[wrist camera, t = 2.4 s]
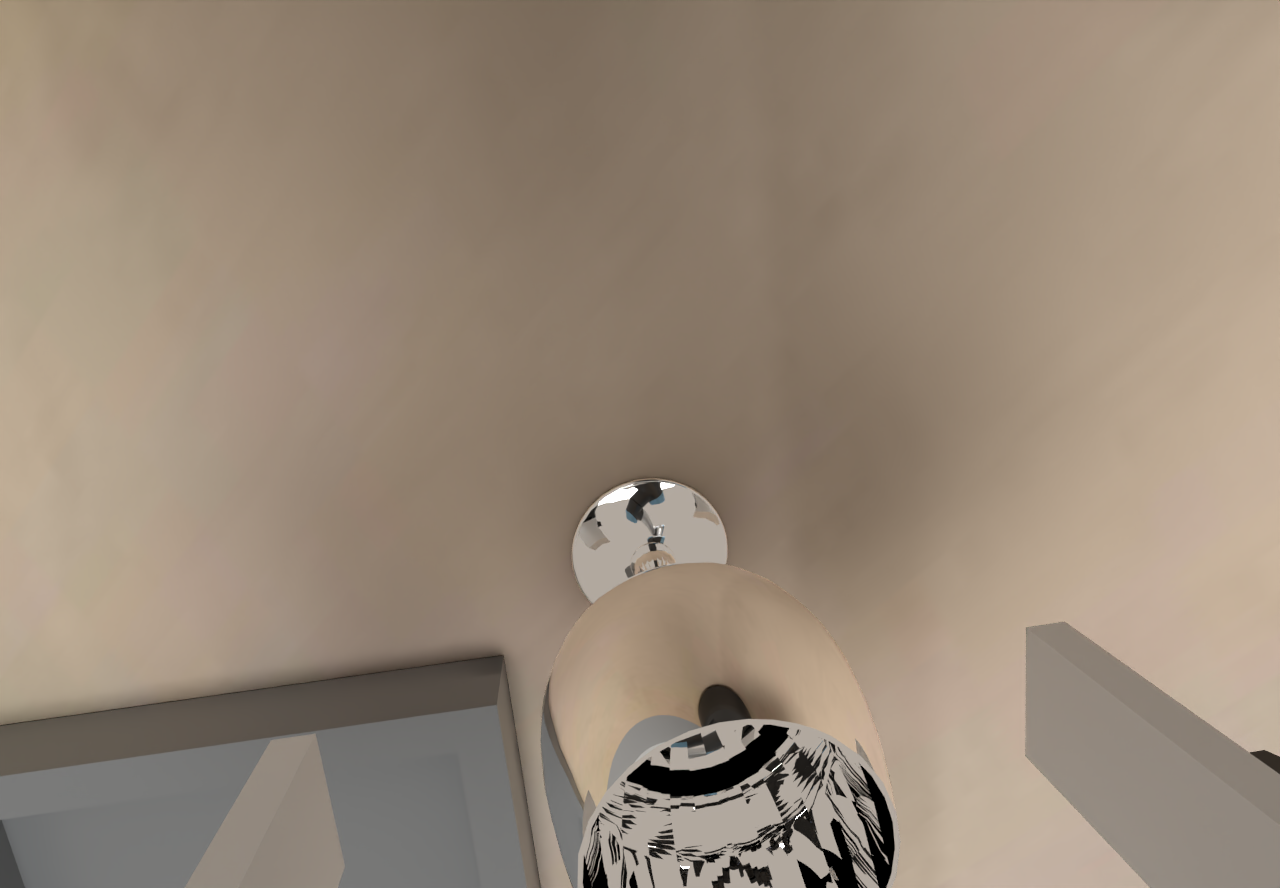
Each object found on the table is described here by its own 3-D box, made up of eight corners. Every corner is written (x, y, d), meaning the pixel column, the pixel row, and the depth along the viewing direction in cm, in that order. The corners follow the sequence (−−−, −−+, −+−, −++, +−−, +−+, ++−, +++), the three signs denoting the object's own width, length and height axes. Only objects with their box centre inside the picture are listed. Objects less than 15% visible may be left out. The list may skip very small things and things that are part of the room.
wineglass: (510, 591, 23) (459, 946, 11) (614, 417, 22) (674, 608, 10) (683, 677, 24) (797, 1079, 13) (788, 515, 23) (1016, 787, 12)
